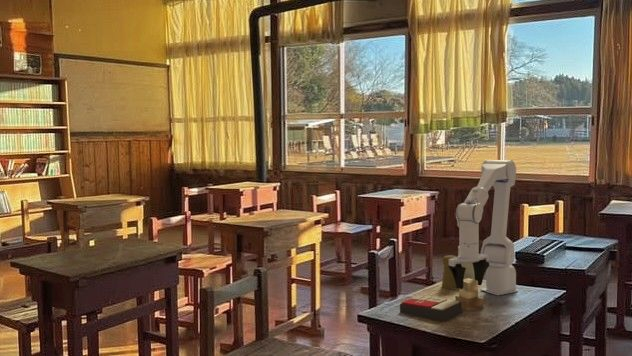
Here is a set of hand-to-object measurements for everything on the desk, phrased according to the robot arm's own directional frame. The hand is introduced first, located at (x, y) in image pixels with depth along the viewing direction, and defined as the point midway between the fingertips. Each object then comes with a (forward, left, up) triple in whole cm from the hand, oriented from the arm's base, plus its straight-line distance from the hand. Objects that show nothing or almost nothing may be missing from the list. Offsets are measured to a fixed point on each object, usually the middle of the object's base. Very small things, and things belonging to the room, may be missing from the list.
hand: (469, 286), depth 185 cm
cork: (-11, -21, -7) cm, 25 cm away
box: (-20, -23, -7) cm, 31 cm away
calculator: (+14, -2, -7) cm, 15 cm away
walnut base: (0, 0, -7) cm, 7 cm away
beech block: (0, 0, -3) cm, 3 cm away
